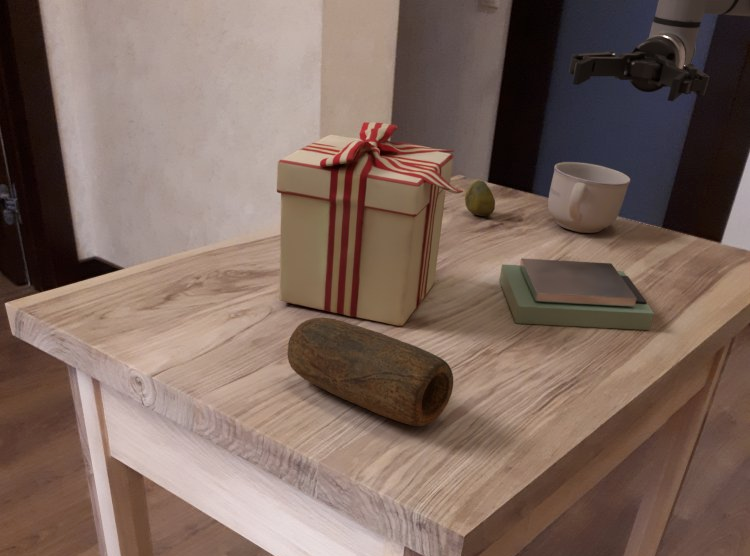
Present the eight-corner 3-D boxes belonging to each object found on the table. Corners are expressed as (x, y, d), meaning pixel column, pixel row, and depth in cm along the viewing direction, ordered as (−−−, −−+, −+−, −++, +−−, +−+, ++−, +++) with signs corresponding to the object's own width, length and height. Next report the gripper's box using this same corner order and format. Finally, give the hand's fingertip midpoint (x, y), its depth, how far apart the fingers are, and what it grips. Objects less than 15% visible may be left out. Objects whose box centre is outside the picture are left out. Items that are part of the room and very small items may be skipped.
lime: (467, 209, 121) (471, 175, 118) (498, 214, 120) (503, 180, 117) (458, 216, 118) (462, 181, 115) (489, 222, 117) (494, 186, 114)
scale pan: (609, 271, 96) (611, 263, 95) (634, 307, 87) (637, 298, 86) (519, 266, 95) (521, 258, 95) (535, 301, 87) (537, 292, 86)
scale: (619, 286, 98) (624, 268, 97) (650, 330, 88) (655, 310, 86) (499, 280, 98) (502, 261, 96) (515, 323, 87) (519, 303, 86)
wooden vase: (458, 414, 70) (468, 344, 66) (415, 446, 65) (423, 373, 61) (324, 362, 77) (326, 296, 73) (276, 388, 72) (275, 318, 68)
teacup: (562, 211, 123) (573, 156, 119) (628, 227, 119) (642, 171, 114) (521, 231, 114) (531, 172, 109) (591, 249, 109) (605, 189, 104)
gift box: (441, 334, 83) (461, 161, 73) (273, 309, 86) (271, 139, 76) (462, 279, 97) (482, 126, 87) (317, 258, 100) (320, 108, 90)
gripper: (727, 102, 125) (706, 127, 110) (574, 76, 133) (534, 96, 118) (745, 48, 120) (724, 66, 105) (585, 24, 128) (545, 38, 113)
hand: (624, 82), depth 111 cm, fingers open, 13 cm apart
